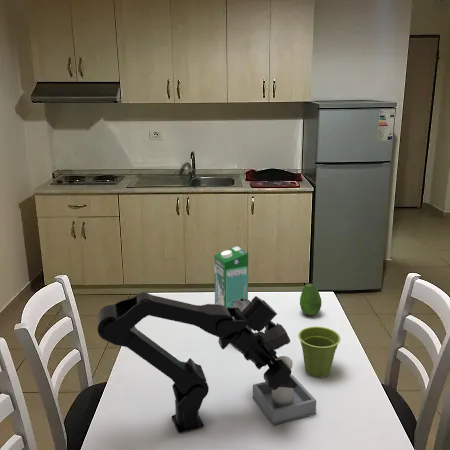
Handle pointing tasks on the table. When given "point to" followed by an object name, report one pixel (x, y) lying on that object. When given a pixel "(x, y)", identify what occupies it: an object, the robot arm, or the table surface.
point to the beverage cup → (242, 304)
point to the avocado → (310, 300)
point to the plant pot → (318, 349)
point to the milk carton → (231, 276)
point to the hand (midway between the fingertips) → (288, 376)
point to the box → (297, 409)
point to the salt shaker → (283, 389)
